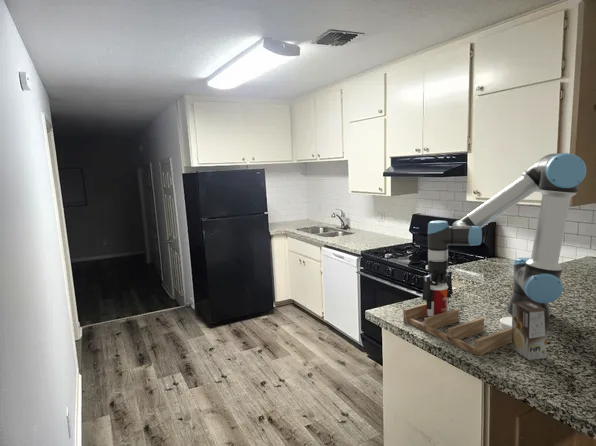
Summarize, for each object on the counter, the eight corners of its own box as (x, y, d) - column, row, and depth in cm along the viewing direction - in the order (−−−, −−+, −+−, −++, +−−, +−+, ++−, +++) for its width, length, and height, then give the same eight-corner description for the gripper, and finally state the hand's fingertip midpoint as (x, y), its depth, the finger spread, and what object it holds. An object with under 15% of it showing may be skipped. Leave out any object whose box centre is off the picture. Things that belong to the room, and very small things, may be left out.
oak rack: (512, 342, 135) (512, 328, 135) (478, 355, 127) (478, 341, 127) (434, 311, 166) (434, 300, 165) (403, 321, 158) (403, 309, 157)
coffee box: (547, 358, 123) (549, 310, 121) (528, 360, 123) (530, 312, 121) (527, 345, 132) (529, 300, 130) (510, 347, 132) (511, 302, 130)
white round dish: (502, 334, 142) (503, 325, 141) (496, 324, 151) (497, 315, 151) (533, 336, 139) (533, 327, 138) (525, 325, 148) (525, 316, 148)
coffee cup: (450, 323, 153) (450, 286, 151) (428, 322, 155) (427, 286, 153) (446, 314, 161) (446, 280, 159) (426, 314, 163) (425, 280, 161)
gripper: (448, 254, 162) (447, 306, 166) (412, 261, 153) (412, 316, 157) (463, 257, 156) (462, 311, 159) (426, 265, 147) (426, 322, 150)
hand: (437, 314), depth 158 cm, fingers closed on coffee cup, 7 cm apart
